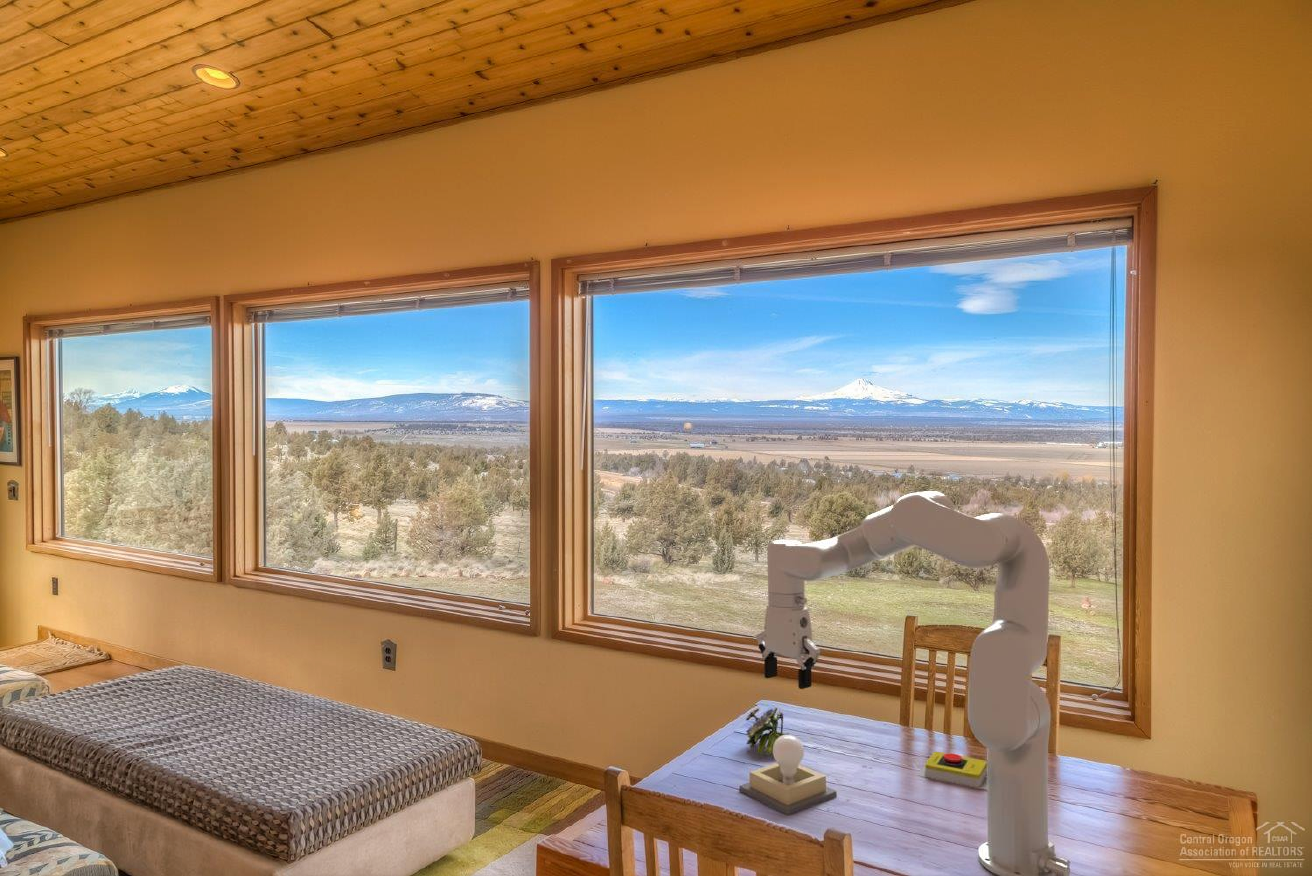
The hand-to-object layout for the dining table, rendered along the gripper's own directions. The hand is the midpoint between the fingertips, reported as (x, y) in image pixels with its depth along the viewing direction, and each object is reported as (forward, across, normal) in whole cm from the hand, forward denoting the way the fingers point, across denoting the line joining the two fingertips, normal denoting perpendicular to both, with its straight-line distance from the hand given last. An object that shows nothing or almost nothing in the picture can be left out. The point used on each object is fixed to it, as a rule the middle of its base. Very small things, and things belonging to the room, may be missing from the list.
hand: (787, 682), depth 171 cm
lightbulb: (+22, 0, +1) cm, 22 cm away
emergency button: (+24, -17, -35) cm, 45 cm away
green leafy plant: (+23, +20, -13) cm, 33 cm away
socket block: (+23, 0, +1) cm, 23 cm away
